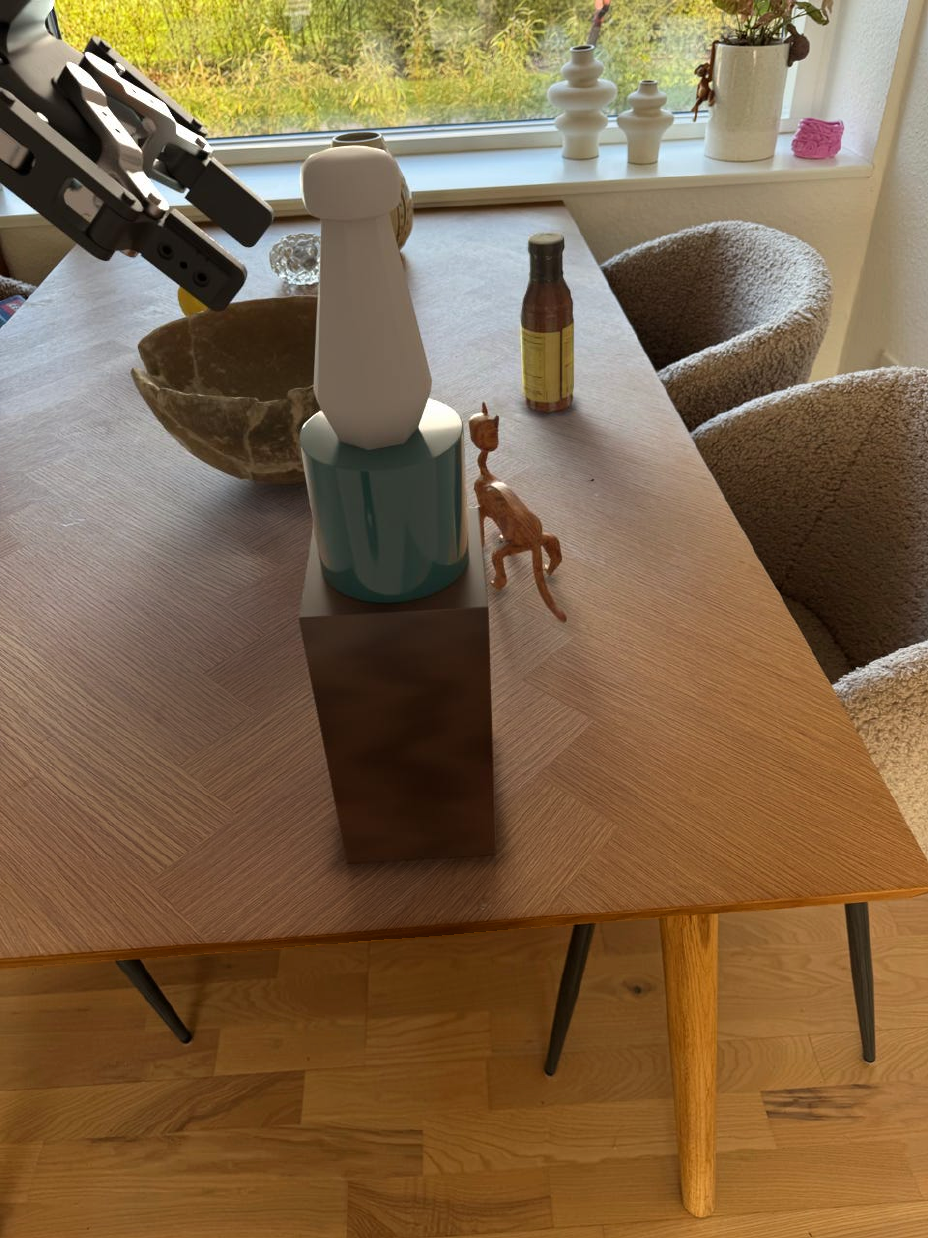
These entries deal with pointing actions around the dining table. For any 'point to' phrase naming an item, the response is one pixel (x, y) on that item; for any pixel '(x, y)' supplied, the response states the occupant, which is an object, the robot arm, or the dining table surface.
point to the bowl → (236, 384)
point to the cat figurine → (510, 516)
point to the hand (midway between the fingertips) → (251, 260)
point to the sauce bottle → (547, 327)
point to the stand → (406, 713)
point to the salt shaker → (363, 301)
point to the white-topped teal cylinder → (389, 508)
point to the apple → (189, 303)
